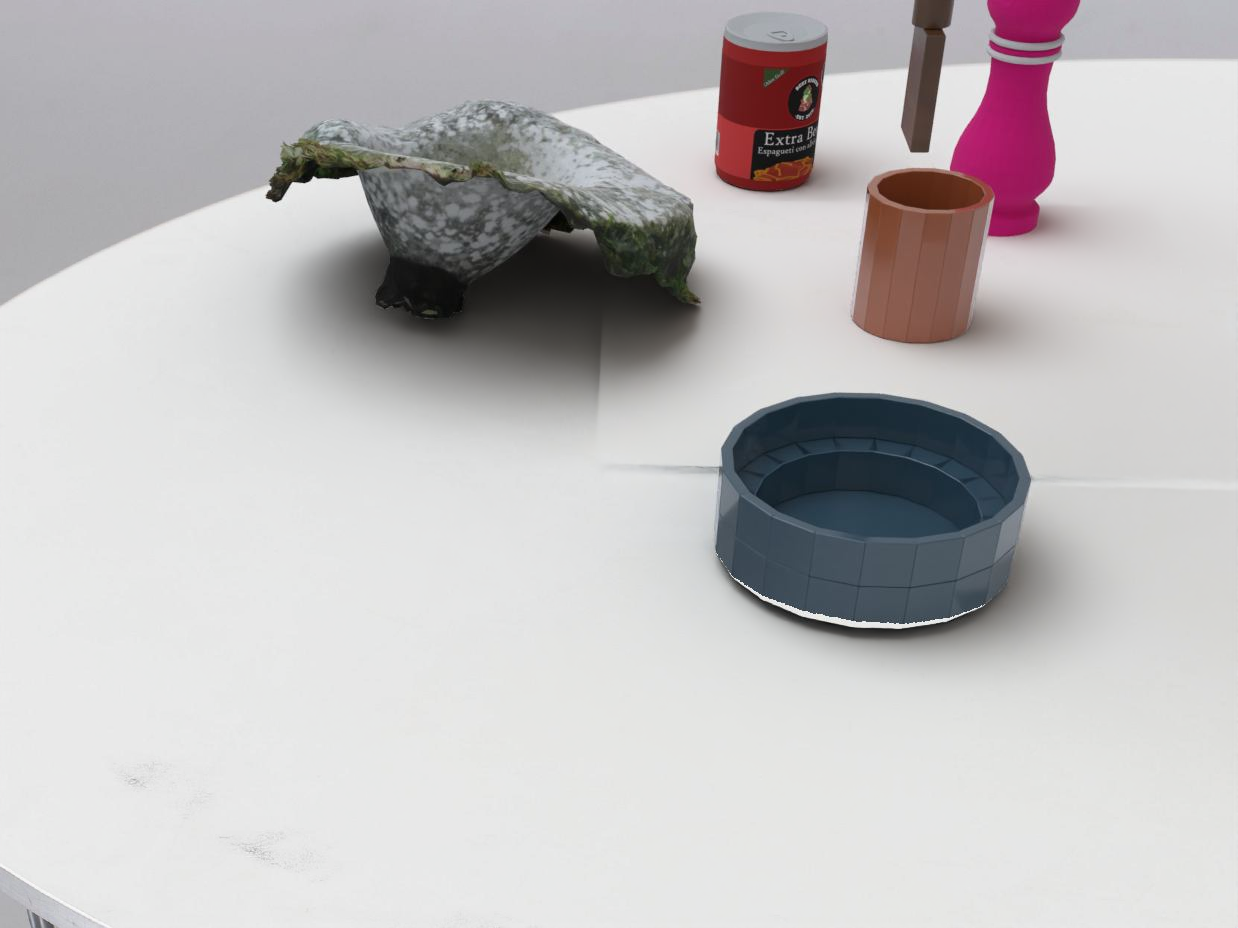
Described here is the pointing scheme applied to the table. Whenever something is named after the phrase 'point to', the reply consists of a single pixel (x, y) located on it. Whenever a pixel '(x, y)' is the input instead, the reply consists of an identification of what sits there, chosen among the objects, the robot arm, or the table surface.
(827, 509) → the bowl
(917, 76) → the long wooden stick
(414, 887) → the table surface
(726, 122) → the canned food
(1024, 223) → the pepper mill
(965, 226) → the crock
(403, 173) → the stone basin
